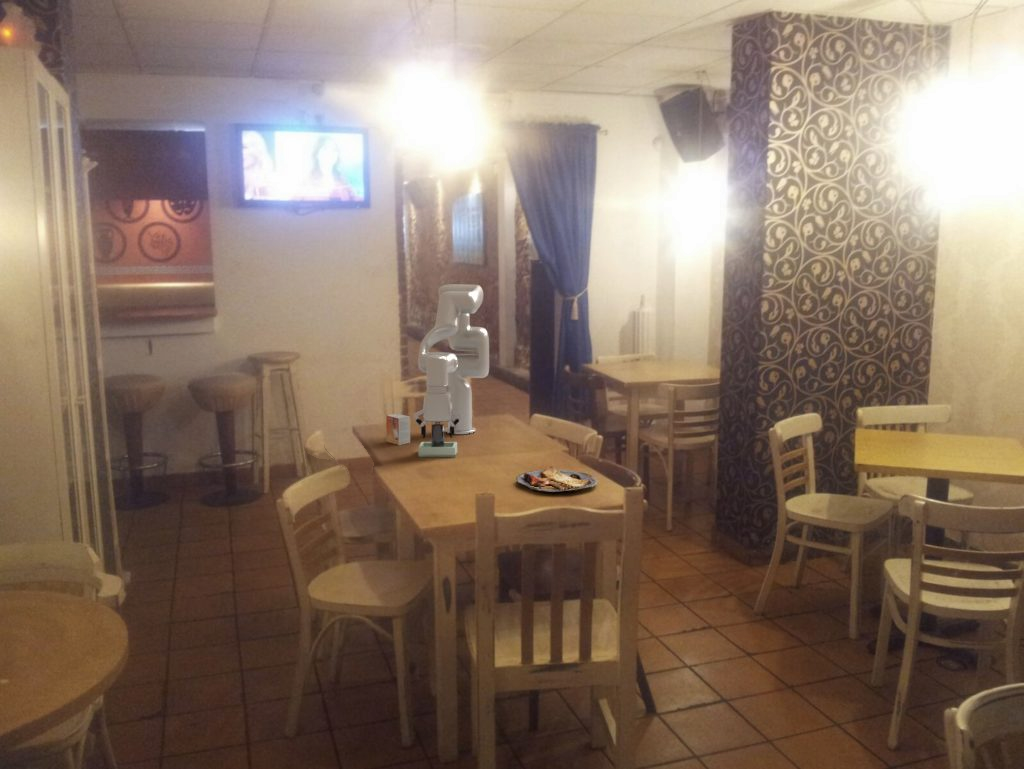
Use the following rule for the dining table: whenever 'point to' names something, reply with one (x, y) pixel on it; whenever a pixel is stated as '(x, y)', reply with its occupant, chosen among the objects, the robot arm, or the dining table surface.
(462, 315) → the robot arm
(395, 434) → the small box
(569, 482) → the food plate
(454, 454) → the trough
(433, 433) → the cylinder
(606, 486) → the dining table surface
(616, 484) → the dining table surface
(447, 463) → the dining table surface
